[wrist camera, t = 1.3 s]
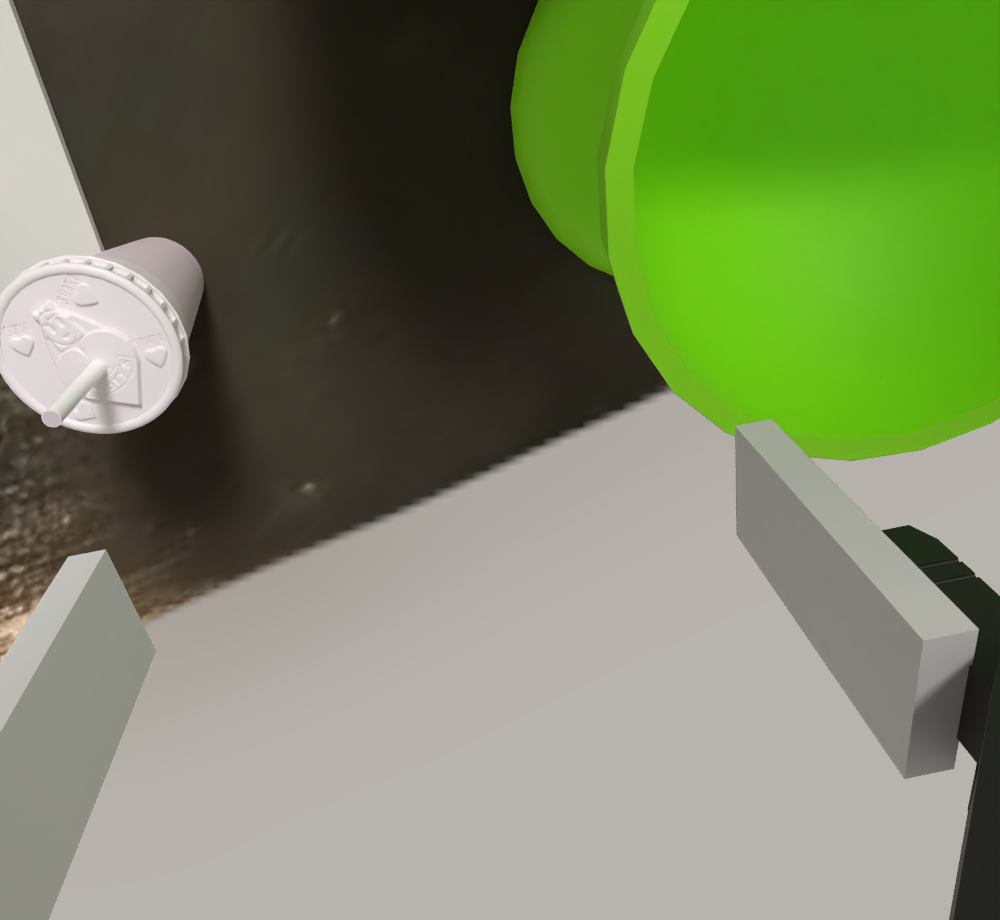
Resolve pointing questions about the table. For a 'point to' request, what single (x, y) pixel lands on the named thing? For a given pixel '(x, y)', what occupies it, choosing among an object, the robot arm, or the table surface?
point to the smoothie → (101, 334)
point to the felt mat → (34, 166)
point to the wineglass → (784, 202)
